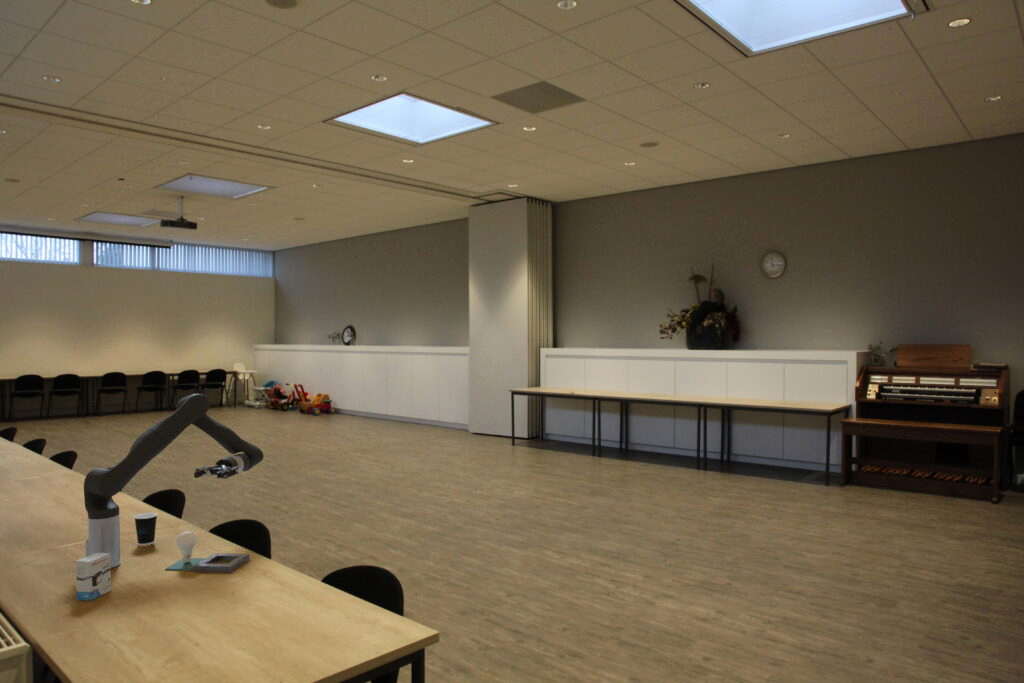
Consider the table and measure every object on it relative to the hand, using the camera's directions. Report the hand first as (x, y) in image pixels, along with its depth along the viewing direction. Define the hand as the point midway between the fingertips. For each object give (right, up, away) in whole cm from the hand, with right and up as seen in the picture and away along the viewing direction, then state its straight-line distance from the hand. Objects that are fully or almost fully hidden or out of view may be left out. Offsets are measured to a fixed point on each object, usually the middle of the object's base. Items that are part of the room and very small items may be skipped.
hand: (206, 475), depth 247 cm
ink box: (-17, -29, -39) cm, 52 cm away
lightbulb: (-1, -28, -13) cm, 31 cm away
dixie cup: (-28, -28, +11) cm, 41 cm away
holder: (+11, -28, -14) cm, 33 cm away
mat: (-1, -28, -13) cm, 31 cm away
